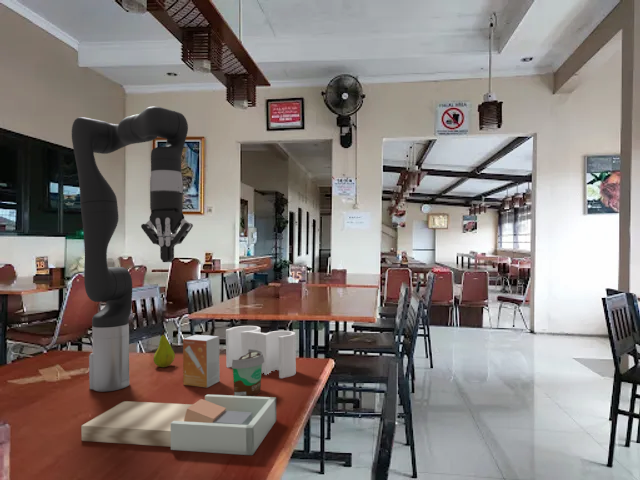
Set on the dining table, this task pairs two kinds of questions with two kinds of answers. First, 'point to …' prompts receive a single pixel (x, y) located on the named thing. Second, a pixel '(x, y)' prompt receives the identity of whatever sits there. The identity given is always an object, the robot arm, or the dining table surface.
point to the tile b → (234, 418)
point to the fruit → (164, 353)
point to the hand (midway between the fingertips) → (167, 261)
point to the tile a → (203, 412)
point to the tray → (227, 427)
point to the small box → (201, 360)
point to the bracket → (263, 348)
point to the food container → (248, 373)
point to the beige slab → (135, 423)
